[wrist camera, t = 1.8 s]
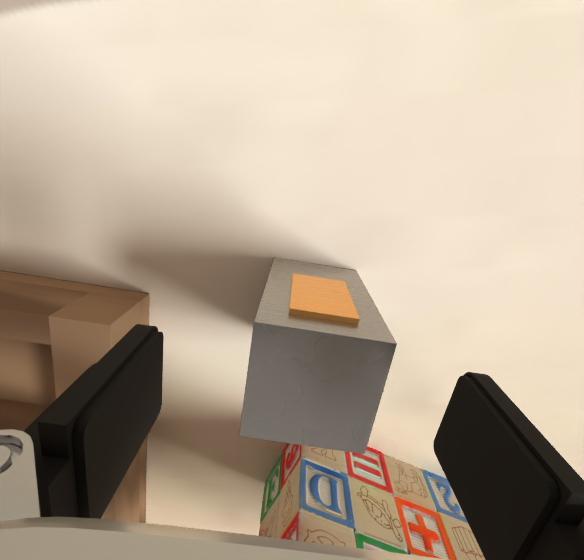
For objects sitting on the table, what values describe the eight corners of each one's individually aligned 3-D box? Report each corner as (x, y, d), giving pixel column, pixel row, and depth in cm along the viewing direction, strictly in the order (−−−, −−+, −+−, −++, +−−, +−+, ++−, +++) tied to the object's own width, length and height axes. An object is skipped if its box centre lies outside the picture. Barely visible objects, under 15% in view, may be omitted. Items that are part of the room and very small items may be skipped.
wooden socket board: (144, 553, 25) (117, 620, 22) (-10, 532, 25) (-66, 596, 21) (149, 293, 18) (109, 325, 15) (-65, 260, 18) (-162, 284, 14)
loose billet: (339, 342, 19) (364, 454, 12) (264, 330, 19) (239, 436, 11) (356, 266, 18) (398, 338, 10) (275, 253, 18) (254, 316, 10)
